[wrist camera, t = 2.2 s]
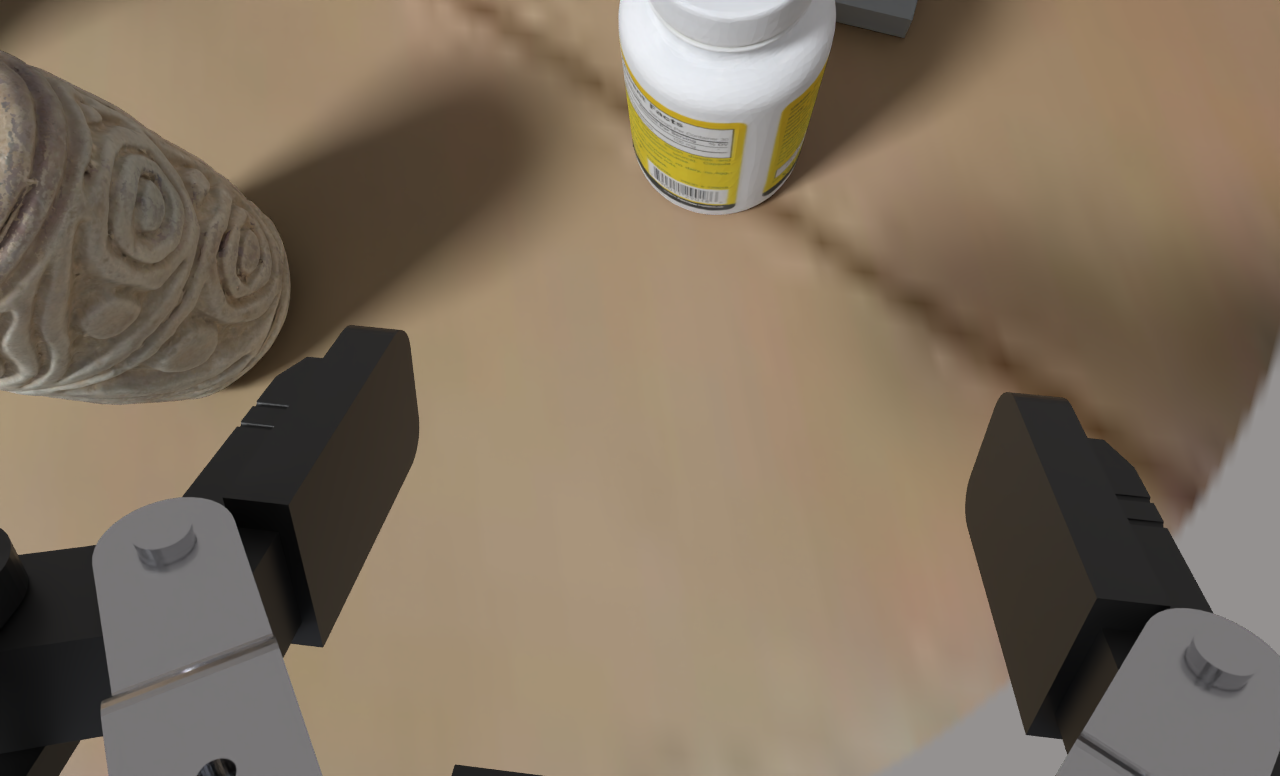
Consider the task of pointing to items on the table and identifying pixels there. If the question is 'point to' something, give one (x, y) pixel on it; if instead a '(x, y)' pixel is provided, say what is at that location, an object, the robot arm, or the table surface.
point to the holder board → (877, 15)
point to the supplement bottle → (722, 94)
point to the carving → (123, 255)
